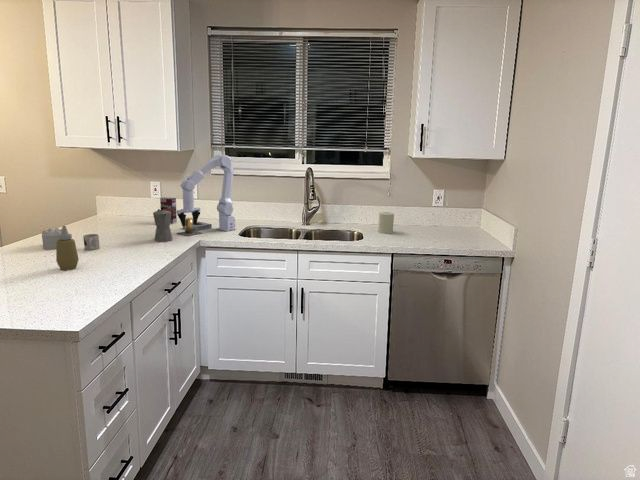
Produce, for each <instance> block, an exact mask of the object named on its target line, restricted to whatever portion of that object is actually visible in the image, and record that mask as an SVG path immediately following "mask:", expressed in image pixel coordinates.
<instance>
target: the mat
mask: <svg viewBox="0 0 640 480" xmlns="http://www.w3.org/2000/svg"><path fill="white" fill-rule="evenodd" d="M176 234H177V235H182V236H184V237H185V236H186V237H191V236H195V235H200V234H201V235H202V234H203V232H201V231H193V233H189V234H188V233H185V230H184V231H179V232H176Z"/></svg>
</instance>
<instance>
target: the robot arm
mask: <svg viewBox="0 0 640 480" xmlns="http://www.w3.org/2000/svg"><path fill="white" fill-rule="evenodd" d="M232 161H233V160H232V159H231V157H230V156H229V155H226V154H216V155H214V156H213V157H211V159H210V160H209V161H208V162H207V163H206V164H205V165H204V166H203V167H201V168H200V169H199V170H194V171H193V172H192V174H191V175H189V176H186V179H183V180H182V181H181V183H180V187H181V190H182V206H183V208H181V209H176V215H177V216H178V217H177V218H178V219H179V221H180V223H181V226H182V227H183V226H185V219H186V217H187V214H188V213H191V215H192V219H193V224H197V222H198V218H199V216H200V215H201V207H195V206H194V205H195V203H194V202H195V201H194V190H195V188H196V185H198V183H200V182H201V181H202V180H203V179H204V178H205V177H204V176H206V174H207V173H208V172H210V171H211V170H213V169H214V168H217V167H218V168H220V169H221V170H222V171H223V177H222V178H223V179H222V189H221V197H220V199H219V201H218V204H217V206H216V210H217V212H218V223H219V224H218V225H219V226H218V227H216V228H215V229H216V230H220V231H225V232H229V231H234V230H237V228H236V218H235V216H233V215H232V214H233V213H234V208H233V207H234V206H233V201H232V199H231V198H232V189H233V188H232V187H233V181H234V179H233V178H234V170H235V168H234V165H233V163H232Z"/></svg>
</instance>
